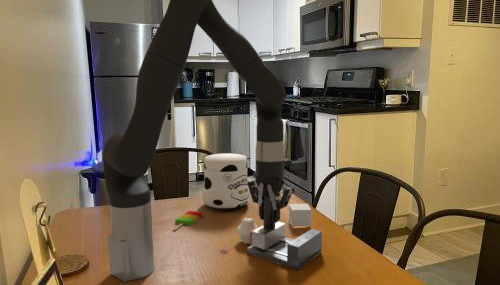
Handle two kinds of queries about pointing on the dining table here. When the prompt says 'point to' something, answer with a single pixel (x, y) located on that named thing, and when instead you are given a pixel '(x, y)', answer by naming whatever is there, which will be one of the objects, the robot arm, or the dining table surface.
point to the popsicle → (187, 219)
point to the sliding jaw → (267, 229)
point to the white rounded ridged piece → (246, 229)
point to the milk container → (225, 181)
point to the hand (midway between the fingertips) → (269, 220)
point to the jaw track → (292, 250)
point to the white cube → (299, 215)
